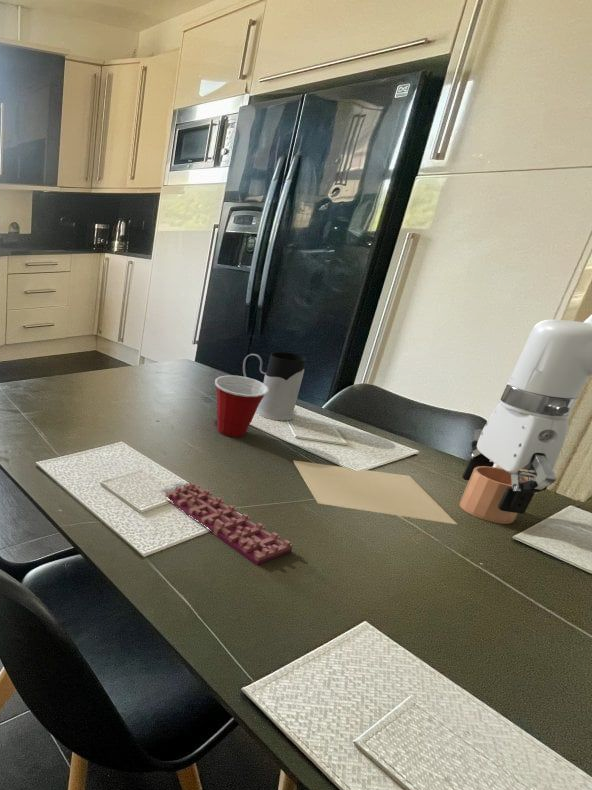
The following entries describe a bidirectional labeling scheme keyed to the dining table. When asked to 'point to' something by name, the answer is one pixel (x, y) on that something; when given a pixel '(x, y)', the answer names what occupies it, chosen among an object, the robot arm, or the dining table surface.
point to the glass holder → (280, 384)
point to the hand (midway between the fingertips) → (490, 495)
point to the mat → (370, 491)
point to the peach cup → (488, 494)
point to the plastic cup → (237, 403)
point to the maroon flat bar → (229, 524)
